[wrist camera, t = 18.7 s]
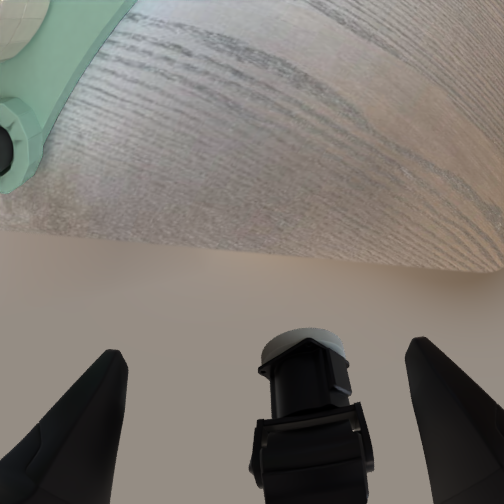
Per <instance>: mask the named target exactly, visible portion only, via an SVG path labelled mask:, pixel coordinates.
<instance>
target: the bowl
mask: <svg viewBox="0 0 504 504" xmlns="http://www.w3.org/2000/svg"><path fill="white" fill-rule="evenodd" d="M49 4H50V0H0V64H1V63H3V62H5V61H7V60H9V59H11V58H13V57H15V56H16V55H17V54H18V53H19V52H20V51H21V50H22V49H23V48H24V47H25V46H26V45H27V44H28V43H29V42H30V40H31V39H32V38H33V36H34V35H35V34H36V32H37V31H38V29H39V28H40V26H41V24H42V22H43V20H44V18H45V16H46V13H47V10H48V8H49Z"/></svg>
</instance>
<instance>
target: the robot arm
mask: <svg viewBox="0 0 504 504" xmlns="http://www.w3.org/2000/svg"><path fill="white" fill-rule="evenodd" d="M405 363H406V369H407V374H408V381H409V387H410V393H411V399H412V404H413V408H414V412H415V416H416V420H417V424H418V428H419V432H420V437H421V441H422V445H423V450H424V454H425V459H426V464H427V469H428V474H429V480H430V485H431V491H432V497H433V503H434V504H504V409H502V407H501V406H500V405H498V404H497V403H496V402H495V401H494V400H493V399H492V398H491V397H490V396H489V395H488V394H487V393H486V392H485V391H484V390H483V389H482V388H481V387H480V386H479V385H478V384H476V383H475V382H474V381H473V380H472V379H471V378H470V377H469V376H468V375H467V374H466V373H465V372H464V371H462V370H461V368H459V367H458V366H457V365H456V364H455V363H454V362H453V361H452V360H451V359H450V358H449V357H447V356H446V355H445V354H444V353H443V352H442V351H441V350H440V349H439V348H438V347H436V346H435V345H434V344H433V343H432V342H431V341H430V340H429V339H428V338H426V337H416V338H413V339H412V341H411V343H410V345H409V348H408V350H407V352H406V354H405ZM348 367H349V362H348V361H347V360H346V359H344V357H342V356H341V355H339V354H337V353H336V352H334V351H333V350H331V349H330V348H327V347H325V346H324V345H322V344H321V343H319V342H318V341H316V340H314V339H313V338H305V339H304V340H302V341H300V342H299V343H297V344H296V345H294V346H292V347H291V348H289V349H288V350H286V351H284V352H283V353H281V354H280V355H278V356H276V357H275V358H273V359H271V360H270V361H268V362H266V363H265V364H263V365H261V366H260V367H258V373H259V374H260V375H262V376H265V377H267V378H269V379H270V392H271V411H272V412H271V413H272V419H267V420H264V419H259V420H257V427H256V428H255V432H254V442H253V451H252V457H251V460H250V464H249V472H250V473H252V474H253V475H254V477H255V480H256V484H257V486H258V487H259V488H260V489H263V490H264V497H265V503H266V504H367V498H368V496H369V491H368V482H367V473H368V472H372V471H374V457H373V449H372V444H371V439H370V435H369V432H368V428H367V424H366V421H365V417H364V414H363V410H362V406H361V403H360V402H357V403H354V404H353V405H350V404H349V399H348V397H349V396H351V393H352V390H351V385H350V381H349V377H348V372H347V368H348ZM127 380H128V366H127V363H126V362H125V360H124V358H123V356H122V354H121V352H120V351H119V350H112V349H108V350H106V351H105V352H104V353H103V354H102V355H101V356H100V357H99V358H98V359H97V360H96V361H95V362H94V363H93V364H92V365H91V366H90V367H89V368H88V369H87V370H86V372H85V373H84V374H83V375H82V376H81V377H80V378H79V379H78V380H77V381H76V382H75V383H74V384H73V385H72V386H71V387H70V389H69V390H68V391H67V392H66V393H65V394H64V395H63V396H62V397H61V398H60V399H59V401H58V402H57V403H56V404H55V405H54V406H53V407H52V408H51V409H50V410H49V411H48V412H47V413H46V415H45V416H44V417H43V418H42V419H41V420H40V421H39V423H38V424H36V426H35V427H34V428H33V429H32V430H31V431H30V432H29V433H28V434H27V435H26V436H25V438H23V440H21V441H20V442H19V443H18V444H17V445H16V446H15V447H14V448H13V449H12V450H11V451H10V452H9V453H8V454H7V455H5V456H4V457H3V458H2V459H1V460H0V504H110V497H111V490H112V483H113V476H114V469H115V463H116V457H117V451H118V445H119V440H120V434H121V429H122V424H123V418H124V412H125V402H126V391H127ZM352 430H355V431H354V432H353V431H352Z"/></svg>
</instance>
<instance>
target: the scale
mask: <svg viewBox="0 0 504 504" xmlns="http://www.w3.org/2000/svg"><path fill="white" fill-rule="evenodd" d="M136 1H137V0H50V4H49V8H48V10H47V13H46V16H45V18H44V20H43V22H42V24H41V26H40V28H39V29H38V31H37V32H36V34H35V35H34V36H33V38H32V39H31V40H30V42H29V43H28V44H27V45H26V46H25V47H24V48H23V49H22V50H21V51H20V52H19V53H18V54H17V55H16V56H15V57H13V58H11V59H9V60H7V61H5V62H3V63H1V64H0V127H2V128H4V129H5V130H6V131H7V132H8V134H9V135H10V137H11V140H12V143H13V158H12V161H11V163H10V165H9V166H8V167H7V168H6V169H4V170H3V171H1V172H0V193H4V194H9V193H10V192H12V191H13V190H15V189H16V188H18V187H19V186H21V185H22V184H23V183H25V182H26V181H27V180H28V179H30V178H31V177H32V176H33V175H34V174H35V172H36V170H37V168H38V165H39V163H40V161H41V159H42V156H43V145H44V143H45V141H46V139H47V137H48V135H49V133H50V131H51V129H52V127H53V125H54V123H55V121H56V119H57V117H58V115H59V113H60V111H61V110H62V108H63V106H64V104H65V102H66V101H67V99H68V97H69V95H70V94H71V92H72V90H73V89H74V87H75V85H76V84H77V82H78V80H79V79H80V77H81V76H82V74H83V72H84V71H85V69H86V68H87V66H88V65H89V63H90V62H91V60H92V59H93V57H94V56H95V54H96V53H97V51H98V50H99V49H100V47H101V46H102V44H103V43H104V42H105V40H106V39H107V37H108V36H109V35H110V33H111V32H112V31H113V29H114V28H115V27H116V26H117V24H118V23H119V22H120V20H121V19H122V18H123V17H124V16H125V14H126V13H127V12H128V11H129V9H130V8H131V7H132V6H133V5H134V3H135V2H136Z"/></svg>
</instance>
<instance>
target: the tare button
mask: <svg viewBox="0 0 504 504" xmlns="http://www.w3.org/2000/svg"><path fill="white" fill-rule="evenodd" d="M12 158H13V143H12V140H11V137H10V135H9V134H8V132H7V131H6V130H5V129H4V128H2V127H0V172H1V171H3V170H4V169H6V168H7V167H8V166H9V165H10V163H11V161H12Z"/></svg>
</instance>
